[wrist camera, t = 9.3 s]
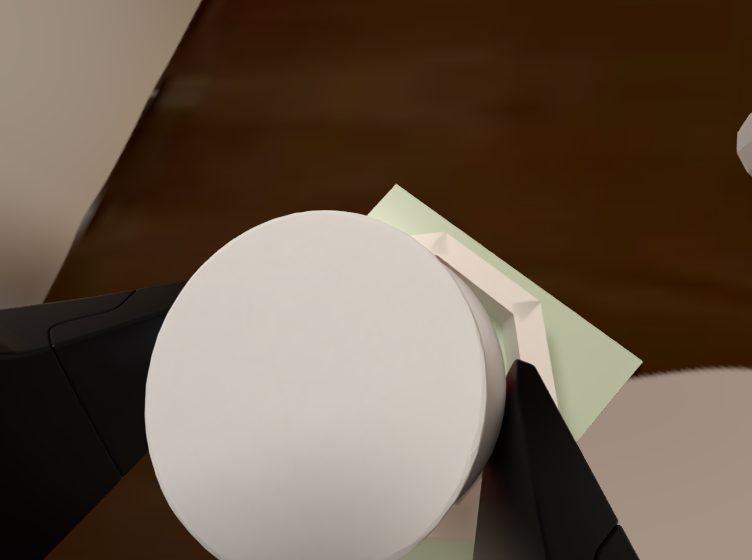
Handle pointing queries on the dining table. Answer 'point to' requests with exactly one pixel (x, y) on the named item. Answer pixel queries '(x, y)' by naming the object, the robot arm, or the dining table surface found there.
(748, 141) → the shot glass
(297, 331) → the pill bottle
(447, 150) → the dining table surface
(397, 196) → the octagonal tray
